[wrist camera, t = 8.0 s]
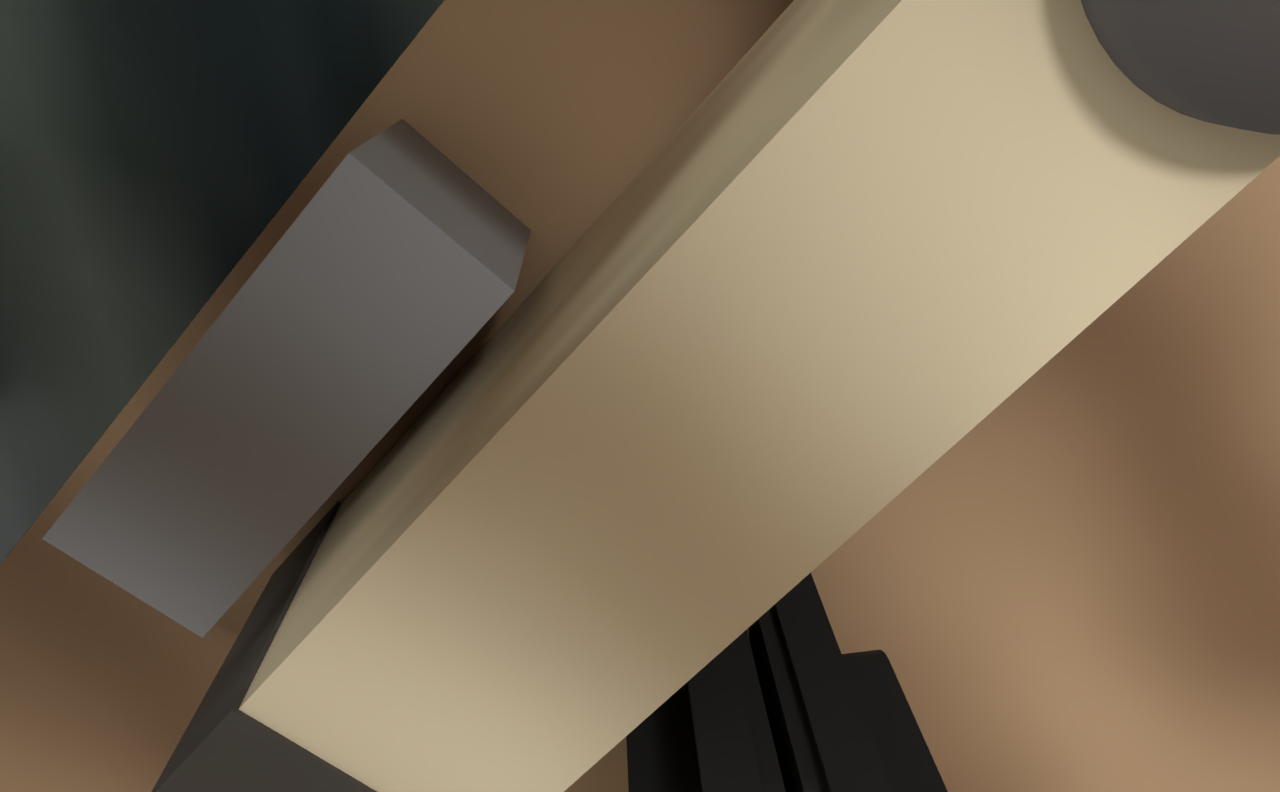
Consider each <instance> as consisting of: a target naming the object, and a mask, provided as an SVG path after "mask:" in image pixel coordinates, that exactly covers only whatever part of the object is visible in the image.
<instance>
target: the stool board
mask: <svg viewBox="0 0 1280 792" xmlns="http://www.w3.org/2000/svg"><path fill="white" fill-rule="evenodd" d="M793 1H794V0H444V1H443V2H442V4H441V5H440V6H439V8H438V9H437V10H436V11H435V13H434V14H433V15H432V16H431V18H430V19H429V20H428V22H427V23H426V24H425V25H424V27H423V28H422V29H421V30H420V32H419V33H418V34H417V36H416V37H415V38H414V39H413V41H412V42H411V43H410V44H409V46H408V47H407V48H406V50H405V51H404V52H403V53H402V55H401V56H400V57H399V58H398V60H397V61H396V62H395V63H394V65H393V66H392V67H391V69H390V70H389V71H388V72H387V74H386V75H385V76H384V77H383V79H382V80H381V81H380V83H379V84H378V85H377V86H376V88H375V89H374V90H373V91H372V93H371V94H370V95H369V97H368V98H367V99H366V100H365V102H364V103H363V104H362V105H361V107H360V108H359V109H358V111H357V112H356V113H355V114H354V116H353V117H352V118H351V119H350V121H349V122H348V123H347V125H346V126H345V127H344V128H343V130H342V131H341V132H340V133H339V135H338V136H337V137H336V139H335V140H334V141H333V142H332V144H331V145H330V146H329V147H328V149H327V150H326V151H325V153H324V154H323V155H322V156H321V158H320V159H319V160H318V161H317V163H316V164H315V165H314V167H313V168H312V169H311V170H310V172H309V173H308V174H307V175H306V177H305V178H304V179H303V181H302V182H301V183H300V184H299V186H298V187H297V188H296V189H295V191H294V192H293V193H292V195H291V196H290V197H289V198H288V200H287V201H286V202H285V203H284V205H283V206H282V207H281V209H280V210H279V211H278V212H277V214H276V215H275V216H274V217H273V219H272V220H271V221H270V223H269V224H268V225H267V226H266V228H265V229H264V230H263V231H262V233H261V234H260V235H259V237H258V238H257V239H256V240H255V242H254V243H253V244H252V245H251V247H250V248H249V249H248V250H247V252H246V253H245V254H244V256H243V257H242V258H241V259H240V261H239V262H238V263H237V264H236V266H235V267H234V268H233V270H232V271H231V272H230V273H229V275H228V276H227V277H226V278H225V280H224V281H223V282H222V284H221V285H220V286H219V287H218V289H217V290H216V291H215V292H214V294H213V295H212V296H211V298H210V299H209V300H208V301H207V303H206V304H205V305H204V306H203V308H202V309H201V310H200V312H199V313H198V314H197V315H196V317H195V318H194V319H193V320H192V322H191V323H190V324H189V326H188V327H187V328H186V329H185V331H184V332H183V333H182V334H181V336H180V337H179V338H178V340H177V341H176V342H175V343H174V345H173V346H172V347H171V348H170V350H169V351H168V352H167V354H166V355H165V356H164V357H163V359H162V360H161V361H160V362H159V364H158V365H157V366H156V368H155V369H154V370H153V371H152V373H151V374H150V375H149V376H148V378H147V379H146V380H145V382H144V383H143V384H142V385H141V387H140V388H139V389H138V390H137V392H136V393H135V394H134V396H133V397H132V398H131V399H130V401H129V402H128V403H127V404H126V406H125V407H124V408H123V410H122V411H121V412H120V413H119V415H118V416H117V417H116V418H115V420H114V421H113V422H112V424H111V425H110V426H109V427H108V429H107V430H106V431H105V432H104V434H103V435H102V436H101V438H100V439H99V440H98V441H97V443H96V444H95V445H94V446H93V448H92V449H91V450H90V451H89V453H88V454H87V455H86V457H85V458H84V459H83V460H82V462H81V463H80V464H79V465H78V467H77V468H76V469H75V471H74V472H73V473H72V474H71V476H70V477H69V478H68V479H67V481H66V482H65V483H64V485H63V486H62V487H61V488H60V490H59V491H58V492H57V493H56V495H55V496H54V497H53V499H52V500H51V501H50V502H49V504H48V505H47V506H46V507H45V509H44V510H43V511H42V513H41V514H40V515H39V516H38V518H37V519H36V520H35V521H34V523H33V524H32V525H31V527H30V528H29V529H28V530H27V532H26V533H25V534H24V535H23V537H22V538H21V539H20V541H19V542H18V543H17V544H16V546H15V547H14V548H13V549H12V551H11V552H10V553H9V555H8V556H7V557H6V558H5V560H4V561H3V562H2V563H1V565H0V792H152V790H153V788H154V786H155V784H156V783H157V781H158V779H159V777H160V775H161V774H162V772H163V770H164V768H165V766H166V765H167V763H168V761H169V759H170V757H171V756H172V754H173V752H174V750H175V748H176V747H177V745H178V743H179V741H180V739H181V738H182V736H183V734H184V732H185V730H186V729H187V727H188V725H189V723H190V721H191V720H192V718H193V716H194V714H195V712H196V711H197V709H198V707H199V705H200V703H201V702H202V700H203V698H204V696H205V694H206V693H207V691H208V689H209V687H210V685H211V684H212V682H213V680H214V678H215V676H216V675H217V673H218V671H219V669H220V667H221V666H222V664H223V662H224V660H225V659H226V657H227V655H228V653H229V651H230V650H231V648H232V646H233V644H234V642H235V641H236V639H237V637H238V635H239V633H240V632H241V630H242V628H243V626H244V624H245V623H246V621H247V619H248V617H249V615H250V614H251V612H252V610H253V608H254V606H255V605H256V603H257V601H258V599H259V597H260V596H261V594H262V592H263V590H264V588H265V587H266V585H267V583H268V581H269V579H270V578H271V576H272V574H273V573H274V572H275V571H276V569H277V568H278V567H279V566H280V565H281V564H282V563H283V562H284V561H285V559H286V558H287V557H288V556H289V555H290V554H291V553H292V552H293V551H294V549H295V548H296V547H297V546H298V545H299V544H300V543H301V542H302V540H303V539H304V538H305V537H306V536H307V535H308V534H309V533H310V532H311V530H312V529H313V528H314V527H315V526H316V525H317V524H318V523H319V521H320V520H321V519H322V518H323V517H324V516H325V515H326V514H327V513H328V511H329V510H330V509H331V508H332V507H333V506H334V505H335V504H336V502H337V501H339V502H340V503H343V502H344V501H345V499H346V498H347V497H348V496H349V495H350V494H351V493H352V492H353V491H354V489H355V488H356V487H357V486H358V485H359V484H360V483H361V482H362V481H363V479H364V478H365V477H366V476H367V475H368V474H369V473H370V472H371V471H372V469H373V468H374V467H375V466H376V465H377V464H378V463H379V462H380V460H381V459H382V458H383V457H384V456H385V455H386V454H387V453H388V452H389V450H390V449H391V448H392V447H393V446H394V445H395V444H396V443H397V442H398V440H399V439H400V438H401V437H402V436H403V435H404V434H405V433H406V432H407V430H408V429H409V428H410V427H411V426H412V425H413V424H414V423H415V422H416V420H417V419H418V418H419V417H420V416H421V415H422V414H423V413H424V412H425V410H426V409H427V408H428V407H429V406H430V405H431V404H432V403H433V401H434V400H435V399H436V398H437V397H438V396H439V395H440V394H441V393H442V391H443V390H444V389H445V388H446V387H447V386H448V385H449V384H450V383H451V381H452V380H453V379H454V378H455V377H456V376H457V375H458V374H459V373H460V371H461V370H462V369H463V368H464V367H465V366H466V365H467V364H468V363H469V361H470V360H471V359H472V358H473V357H474V356H475V355H476V354H477V353H478V351H479V350H480V349H481V348H482V347H483V346H484V345H485V344H486V342H487V341H488V340H489V339H490V338H491V337H492V336H493V335H494V334H495V332H496V331H497V330H498V329H499V328H500V327H501V326H502V325H503V324H504V322H505V321H506V320H507V319H508V318H509V317H510V316H511V315H512V314H513V312H514V311H515V310H516V309H517V308H518V307H519V306H520V305H521V304H522V302H523V301H524V300H525V299H526V298H527V297H528V296H529V295H530V293H531V292H532V291H533V290H534V289H535V288H536V287H537V286H538V285H539V283H540V282H541V281H542V280H543V279H544V278H545V277H546V276H547V275H548V273H549V272H550V271H551V270H552V269H553V268H554V267H555V266H556V265H557V263H558V262H559V261H560V260H561V259H562V258H563V257H564V256H565V255H566V253H567V252H568V251H569V250H570V249H571V248H572V247H573V246H574V245H575V243H576V242H577V241H578V240H579V239H580V238H581V237H582V236H583V234H584V233H585V232H586V231H587V230H588V229H589V228H590V227H591V226H592V224H593V223H594V222H595V221H596V220H597V219H598V218H599V217H600V216H601V214H602V213H603V212H604V211H605V210H606V209H607V208H608V207H609V206H610V204H611V203H612V202H613V201H614V200H615V199H616V198H617V197H618V196H619V194H620V193H621V192H622V191H623V190H624V189H625V188H626V187H627V186H628V184H629V183H630V182H631V181H632V180H633V179H634V178H635V177H636V175H637V174H638V173H639V172H640V171H641V170H642V169H643V168H644V167H645V165H646V164H647V163H648V162H649V161H650V160H651V159H652V158H653V157H654V155H655V154H656V153H657V152H658V151H659V150H660V149H661V148H662V147H663V145H664V144H665V143H666V142H667V141H668V140H669V139H670V138H671V137H672V135H673V134H674V133H675V132H676V131H677V130H678V129H679V128H680V127H681V125H682V124H683V123H684V122H685V121H686V120H687V119H688V118H689V116H690V115H691V114H692V113H693V112H694V111H695V110H696V109H697V108H698V106H699V105H700V104H701V103H702V102H703V101H704V100H705V99H706V98H707V96H708V95H709V94H710V93H711V92H712V91H713V90H714V89H715V88H716V86H717V85H718V84H719V83H720V82H721V81H722V80H723V79H724V78H725V76H726V75H727V74H728V73H729V72H730V71H731V70H732V69H733V68H734V66H735V65H736V64H737V63H738V62H739V61H740V60H741V59H742V57H743V56H744V55H745V54H746V53H747V52H748V51H749V50H750V49H751V47H752V46H753V45H754V44H755V43H756V42H757V41H758V40H759V39H760V37H761V36H762V35H763V34H764V33H765V32H766V31H767V30H768V29H769V27H770V26H771V25H772V24H773V23H774V22H775V21H776V20H777V19H778V17H779V16H780V15H781V14H782V13H783V12H784V11H785V10H786V8H787V7H788V6H789V5H790V4H791V3H792V2H793ZM811 574H812V577H813V580H814V582H815V585H816V588H817V590H818V593H819V596H820V598H821V601H822V604H823V606H824V609H825V611H826V614H827V617H828V619H829V622H830V625H831V627H832V630H833V633H834V635H835V638H836V641H837V643H838V646H839V649H840V651H841V654H847V653H855V652H864V651H872V650H882V651H883V652H885V654H886V655H887V657H888V659H889V661H890V663H891V665H892V668H893V670H894V672H895V674H896V676H897V679H898V681H899V683H900V685H901V688H902V690H903V692H904V694H905V697H906V699H907V701H908V703H909V706H910V708H911V710H912V712H913V715H914V717H915V719H916V721H917V724H918V726H919V728H920V730H921V733H922V735H923V737H924V739H925V742H926V744H927V746H928V748H929V751H930V753H931V755H932V757H933V760H934V762H935V764H936V766H937V769H938V771H939V773H940V775H941V777H942V780H943V782H944V784H945V786H946V789H947V791H948V792H1280V156H1279V157H1278V158H1277V159H1276V160H1275V161H1273V162H1272V163H1271V164H1270V165H1269V166H1268V167H1267V168H1266V169H1264V170H1263V171H1262V172H1261V173H1260V174H1259V175H1258V176H1257V177H1255V178H1254V179H1253V180H1252V181H1251V182H1250V183H1249V184H1248V185H1246V186H1245V187H1244V188H1243V189H1242V190H1241V191H1240V192H1239V193H1237V194H1236V195H1235V196H1234V197H1233V198H1232V199H1231V200H1230V201H1228V202H1227V203H1226V204H1225V205H1224V206H1223V207H1222V208H1221V209H1219V210H1218V211H1217V212H1216V213H1215V214H1214V215H1213V216H1212V217H1210V218H1209V219H1208V220H1207V221H1206V222H1205V223H1204V224H1202V225H1201V226H1200V227H1199V228H1198V229H1197V230H1196V231H1195V232H1193V233H1192V234H1191V235H1190V236H1189V237H1188V238H1187V239H1186V240H1184V241H1183V242H1182V243H1181V244H1180V245H1179V246H1178V247H1177V248H1175V249H1174V250H1173V251H1172V252H1171V253H1170V254H1169V255H1168V256H1166V257H1165V258H1164V259H1163V260H1162V261H1161V262H1160V263H1159V264H1157V265H1156V266H1155V267H1154V268H1153V269H1152V270H1151V271H1150V272H1148V273H1147V274H1146V275H1145V276H1144V277H1143V278H1142V279H1141V280H1139V281H1138V282H1137V283H1136V284H1135V285H1134V286H1133V287H1132V288H1130V289H1129V290H1128V291H1127V292H1126V293H1125V294H1124V295H1123V296H1121V297H1120V298H1119V299H1118V300H1117V301H1116V302H1115V303H1114V304H1112V305H1111V306H1110V307H1109V308H1108V309H1107V310H1106V311H1105V312H1103V313H1102V314H1101V315H1100V316H1099V317H1098V318H1097V319H1096V320H1094V321H1093V322H1092V323H1091V324H1090V325H1089V326H1088V327H1087V328H1085V329H1084V330H1083V331H1082V332H1081V333H1080V334H1079V335H1077V336H1076V337H1075V338H1074V339H1073V340H1072V341H1071V342H1070V343H1068V344H1067V345H1066V346H1065V347H1064V348H1063V349H1062V350H1061V351H1059V352H1058V353H1057V354H1056V355H1055V356H1054V357H1053V358H1052V359H1050V360H1049V361H1048V362H1047V363H1046V364H1045V365H1044V366H1043V367H1041V368H1040V369H1039V370H1038V371H1037V372H1036V373H1035V374H1034V375H1032V376H1031V377H1030V378H1029V379H1028V380H1027V381H1026V382H1025V383H1023V384H1022V385H1021V386H1020V387H1019V388H1018V389H1017V390H1016V391H1014V392H1013V393H1012V394H1011V395H1010V396H1009V397H1008V398H1007V399H1005V400H1004V401H1003V402H1002V403H1001V404H1000V405H999V406H998V407H996V408H995V409H994V410H993V411H992V412H991V413H990V414H989V415H987V416H986V417H985V418H984V419H983V420H982V421H981V422H980V423H978V424H977V425H976V426H975V427H974V428H973V429H972V430H971V431H969V432H968V433H967V434H966V435H965V436H964V437H963V438H962V439H960V440H959V441H958V442H957V443H956V444H955V445H954V446H952V447H951V448H950V449H949V450H948V451H947V452H946V453H945V454H943V455H942V456H941V457H940V458H939V459H938V460H937V461H936V462H934V463H933V464H932V465H931V466H930V467H929V468H928V469H927V470H925V471H924V472H923V473H922V474H921V475H920V476H919V477H918V478H916V479H915V480H914V481H913V482H912V483H911V484H910V485H909V486H907V487H906V488H905V489H904V490H903V491H902V492H901V493H900V494H898V495H897V496H896V497H895V498H894V499H893V500H892V501H891V502H889V503H888V504H887V505H886V506H885V507H884V508H883V509H882V510H880V511H879V512H878V513H877V514H876V515H875V516H874V517H873V518H871V519H870V520H869V521H868V522H867V523H866V524H865V525H864V526H862V527H861V528H860V529H859V530H858V531H857V532H856V533H855V534H853V535H852V536H851V537H850V538H849V539H848V540H847V541H846V542H844V543H843V544H842V545H841V546H840V547H839V548H838V549H837V550H835V551H834V552H833V553H832V554H831V555H830V556H829V557H827V558H826V559H825V560H824V561H823V562H822V563H821V564H820V565H818V566H817V567H816V568H815V569H814V570H813V571H812V572H811ZM747 633H748V637H749V630H748V629H747ZM564 792H629V788H628V764H627V741H626V737H625V738H624V739H623V740H621V741H620V742H619V743H618V744H617V745H616V746H615V747H614V748H612V749H611V750H610V751H609V752H608V753H607V754H606V755H605V756H603V757H602V758H601V759H600V760H599V761H598V762H597V763H596V764H594V765H593V766H592V767H591V768H590V769H589V770H588V771H587V772H585V773H584V774H583V775H582V776H581V777H580V778H579V779H578V780H576V781H575V782H574V783H573V784H572V785H571V786H570V787H568V788H567V789H566V790H565V791H564Z"/></svg>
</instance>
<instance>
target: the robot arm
mask: <svg viewBox="0 0 1280 792" xmlns="http://www.w3.org/2000/svg"><path fill="white" fill-rule="evenodd" d="M748 630H749V637H748V633H747V629H746V630H745V631H744V632H743V633H742V634H741V635H740V636H739V637H737V638H736V639H735V640H734V641H733V642H732V643H731V644H730V645H728V646H727V647H726V648H725V649H724V650H723V651H722V652H721V653H719V654H718V655H717V656H716V657H715V658H714V659H713V660H712V661H710V662H709V663H708V664H707V665H706V666H705V667H704V668H702V669H701V670H700V671H699V672H698V673H697V674H696V675H695V676H693V677H692V678H691V679H690V680H689V681H688V682H687V683H686V684H684V685H683V686H682V687H681V688H680V689H679V690H678V691H677V692H675V693H674V694H673V695H672V696H671V697H670V698H669V699H668V700H666V701H665V702H664V703H663V704H662V705H661V706H660V707H659V708H657V709H656V710H655V711H654V712H653V713H652V714H651V715H650V716H648V717H647V718H646V719H645V720H644V721H643V722H642V723H641V724H639V725H638V726H637V727H636V728H635V729H634V730H633V731H632V732H630V733H629V734H628V735H627V736H626V741H627V764H628V788H629V792H948V791H947V789H946V786H945V784H944V782H943V780H942V777H941V775H940V773H939V771H938V769H937V766H936V764H935V762H934V760H933V757H932V755H931V753H930V751H929V748H928V746H927V744H926V742H925V739H924V737H923V735H922V733H921V730H920V728H919V726H918V724H917V721H916V719H915V717H914V715H913V712H912V710H911V708H910V706H909V703H908V701H907V699H906V697H905V694H904V692H903V690H902V688H901V685H900V683H899V681H898V679H897V676H896V674H895V672H894V670H893V668H892V665H891V663H890V661H889V659H888V657H887V655H886V654H885V652H883V651H882V650H872V651H864V652H855V653H847V654H841V651H840V649H839V646H838V643H837V641H836V638H835V635H834V633H833V630H832V627H831V625H830V622H829V619H828V617H827V614H826V611H825V609H824V606H823V604H822V601H821V598H820V596H819V593H818V590H817V588H816V585H815V582H814V580H813V577H812V574H811V573H809V574H808V575H807V576H806V577H805V578H804V579H803V580H802V581H800V582H799V583H798V584H797V585H796V586H795V587H794V588H793V589H791V590H790V591H789V592H788V593H787V594H786V595H785V596H784V597H782V598H781V599H780V600H779V601H778V602H777V603H776V604H775V605H773V606H772V607H771V608H770V609H769V610H768V611H767V612H766V613H764V614H763V615H762V616H761V617H760V618H759V619H758V620H757V621H755V622H754V623H753V624H752V625H751V626H750V627H749V628H748Z"/></svg>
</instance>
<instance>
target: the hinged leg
mask: <svg viewBox="0 0 1280 792" xmlns="http://www.w3.org/2000/svg"><path fill="white" fill-rule="evenodd" d="M1279 156H1280V0H794V1H793V2H792V3H791V4H790V5H789V6H788V7H787V8H786V10H785V11H784V12H783V13H782V14H781V15H780V16H779V17H778V19H777V20H776V21H775V22H774V23H773V24H772V25H771V26H770V27H769V29H768V30H767V31H766V32H765V33H764V34H763V35H762V36H761V37H760V39H759V40H758V41H757V42H756V43H755V44H754V45H753V46H752V47H751V49H750V50H749V51H748V52H747V53H746V54H745V55H744V56H743V57H742V59H741V60H740V61H739V62H738V63H737V64H736V65H735V66H734V68H733V69H732V70H731V71H730V72H729V73H728V74H727V75H726V76H725V78H724V79H723V80H722V81H721V82H720V83H719V84H718V85H717V86H716V88H715V89H714V90H713V91H712V92H711V93H710V94H709V95H708V96H707V98H706V99H705V100H704V101H703V102H702V103H701V104H700V105H699V106H698V108H697V109H696V110H695V111H694V112H693V113H692V114H691V115H690V116H689V118H688V119H687V120H686V121H685V122H684V123H683V124H682V125H681V127H680V128H679V129H678V130H677V131H676V132H675V133H674V134H673V135H672V137H671V138H670V139H669V140H668V141H667V142H666V143H665V144H664V145H663V147H662V148H661V149H660V150H659V151H658V152H657V153H656V154H655V155H654V157H653V158H652V159H651V160H650V161H649V162H648V163H647V164H646V165H645V167H644V168H643V169H642V170H641V171H640V172H639V173H638V174H637V175H636V177H635V178H634V179H633V180H632V181H631V182H630V183H629V184H628V186H627V187H626V188H625V189H624V190H623V191H622V192H621V193H620V194H619V196H618V197H617V198H616V199H615V200H614V201H613V202H612V203H611V204H610V206H609V207H608V208H607V209H606V210H605V211H604V212H603V213H602V214H601V216H600V217H599V218H598V219H597V220H596V221H595V222H594V223H593V224H592V226H591V227H590V228H589V229H588V230H587V231H586V232H585V233H584V234H583V236H582V237H581V238H580V239H579V240H578V241H577V242H576V243H575V245H574V246H573V247H572V248H571V249H570V250H569V251H568V252H567V253H566V255H565V256H564V257H563V258H562V259H561V260H560V261H559V262H558V263H557V265H556V266H555V267H554V268H553V269H552V270H551V271H550V272H549V273H548V275H547V276H546V277H545V278H544V279H543V280H542V281H541V282H540V283H539V285H538V286H537V287H536V288H535V289H534V290H533V291H532V292H531V293H530V295H529V296H528V297H527V298H526V299H525V300H524V301H523V302H522V304H521V305H520V306H519V307H518V308H517V309H516V310H515V311H514V312H513V314H512V315H511V316H510V317H509V318H508V319H507V320H506V321H505V322H504V324H503V325H502V326H501V327H500V328H499V329H498V330H497V331H496V332H495V334H494V335H493V336H492V337H491V338H490V339H489V340H488V341H487V342H486V344H485V345H484V346H483V347H482V348H481V349H480V350H479V351H478V353H477V354H476V355H475V356H474V357H473V358H472V359H471V360H470V361H469V363H468V364H467V365H466V366H465V367H464V368H463V369H462V370H461V371H460V373H459V374H458V375H457V376H456V377H455V378H454V379H453V380H452V381H451V383H450V384H449V385H448V386H447V387H446V388H445V389H444V390H443V391H442V393H441V394H440V395H439V396H438V397H437V398H436V399H435V400H434V401H433V403H432V404H431V405H430V406H429V407H428V408H427V409H426V410H425V412H424V413H423V414H422V415H421V416H420V417H419V418H418V419H417V420H416V422H415V423H414V424H413V425H412V426H411V427H410V428H409V429H408V430H407V432H406V433H405V434H404V435H403V436H402V437H401V438H400V439H399V440H398V442H397V443H396V444H395V445H394V446H393V447H392V448H391V449H390V450H389V452H388V453H387V454H386V455H385V456H384V457H383V458H382V459H381V460H380V462H379V463H378V464H377V465H376V466H375V467H374V468H373V469H372V471H371V472H370V473H369V474H368V475H367V476H366V477H365V478H364V479H363V481H362V482H361V483H360V484H359V485H358V486H357V487H356V488H355V489H354V491H353V492H352V493H351V494H350V495H349V496H348V497H347V498H346V499H345V501H344V502H343V503H340V502H339V501H337V502H336V504H335V505H334V506H333V507H332V508H331V509H330V510H329V511H328V513H327V514H326V515H325V516H324V517H323V518H322V519H321V520H320V521H319V523H318V524H317V525H316V526H315V527H314V528H313V529H312V530H311V532H310V533H309V534H308V535H307V536H306V537H305V538H304V539H303V540H302V542H301V543H300V544H299V545H298V546H297V547H296V548H295V549H294V551H293V552H292V553H291V554H290V555H289V556H288V557H287V558H286V559H285V561H284V562H283V563H282V564H281V565H280V566H279V567H278V568H277V569H276V571H275V572H274V573H273V574H272V576H271V578H270V579H269V581H268V583H267V585H266V587H265V588H264V590H263V592H262V594H261V596H260V597H259V599H258V601H257V603H256V605H255V606H254V608H253V610H252V612H251V614H250V615H249V617H248V619H247V621H246V623H245V624H244V626H243V628H242V630H241V632H240V633H239V635H238V637H237V639H236V641H235V642H234V644H233V646H232V648H231V650H230V651H229V653H228V655H227V657H226V659H225V660H224V662H223V664H222V666H221V667H220V669H219V671H218V673H217V675H216V676H215V678H214V680H213V682H212V684H211V685H210V687H209V689H208V691H207V693H206V694H205V696H204V698H203V700H202V702H201V703H200V705H199V707H198V709H197V711H196V712H195V714H194V716H193V718H192V720H191V721H190V723H189V725H188V727H187V729H186V730H185V732H184V734H183V736H182V738H181V739H180V741H179V743H178V745H177V747H176V748H175V750H174V752H173V754H172V756H171V757H170V759H169V761H168V763H167V765H166V766H165V768H164V770H163V772H162V774H161V775H160V777H159V779H158V781H157V783H156V784H155V786H154V788H153V790H152V792H564V791H565V790H566V789H567V788H568V787H570V786H571V785H572V784H573V783H574V782H575V781H576V780H578V779H579V778H580V777H581V776H582V775H583V774H584V773H585V772H587V771H588V770H589V769H590V768H591V767H592V766H593V765H594V764H596V763H597V762H598V761H599V760H600V759H601V758H602V757H603V756H605V755H606V754H607V753H608V752H609V751H610V750H611V749H612V748H614V747H615V746H616V745H617V744H618V743H619V742H620V741H621V740H623V739H624V738H625V737H626V736H627V735H628V734H629V733H630V732H632V731H633V730H634V729H635V728H636V727H637V726H638V725H639V724H641V723H642V722H643V721H644V720H645V719H646V718H647V717H648V716H650V715H651V714H652V713H653V712H654V711H655V710H656V709H657V708H659V707H660V706H661V705H662V704H663V703H664V702H665V701H666V700H668V699H669V698H670V697H671V696H672V695H673V694H674V693H675V692H677V691H678V690H679V689H680V688H681V687H682V686H683V685H684V684H686V683H687V682H688V681H689V680H690V679H691V678H692V677H693V676H695V675H696V674H697V673H698V672H699V671H700V670H701V669H702V668H704V667H705V666H706V665H707V664H708V663H709V662H710V661H712V660H713V659H714V658H715V657H716V656H717V655H718V654H719V653H721V652H722V651H723V650H724V649H725V648H726V647H727V646H728V645H730V644H731V643H732V642H733V641H734V640H735V639H736V638H737V637H739V636H740V635H741V634H742V633H743V632H744V631H745V630H746V629H748V628H749V627H750V626H751V625H752V624H753V623H754V622H755V621H757V620H758V619H759V618H760V617H761V616H762V615H763V614H764V613H766V612H767V611H768V610H769V609H770V608H771V607H772V606H773V605H775V604H776V603H777V602H778V601H779V600H780V599H781V598H782V597H784V596H785V595H786V594H787V593H788V592H789V591H790V590H791V589H793V588H794V587H795V586H796V585H797V584H798V583H799V582H800V581H802V580H803V579H804V578H805V577H806V576H807V575H808V574H809V573H811V572H812V571H813V570H814V569H815V568H816V567H817V566H818V565H820V564H821V563H822V562H823V561H824V560H825V559H826V558H827V557H829V556H830V555H831V554H832V553H833V552H834V551H835V550H837V549H838V548H839V547H840V546H841V545H842V544H843V543H844V542H846V541H847V540H848V539H849V538H850V537H851V536H852V535H853V534H855V533H856V532H857V531H858V530H859V529H860V528H861V527H862V526H864V525H865V524H866V523H867V522H868V521H869V520H870V519H871V518H873V517H874V516H875V515H876V514H877V513H878V512H879V511H880V510H882V509H883V508H884V507H885V506H886V505H887V504H888V503H889V502H891V501H892V500H893V499H894V498H895V497H896V496H897V495H898V494H900V493H901V492H902V491H903V490H904V489H905V488H906V487H907V486H909V485H910V484H911V483H912V482H913V481H914V480H915V479H916V478H918V477H919V476H920V475H921V474H922V473H923V472H924V471H925V470H927V469H928V468H929V467H930V466H931V465H932V464H933V463H934V462H936V461H937V460H938V459H939V458H940V457H941V456H942V455H943V454H945V453H946V452H947V451H948V450H949V449H950V448H951V447H952V446H954V445H955V444H956V443H957V442H958V441H959V440H960V439H962V438H963V437H964V436H965V435H966V434H967V433H968V432H969V431H971V430H972V429H973V428H974V427H975V426H976V425H977V424H978V423H980V422H981V421H982V420H983V419H984V418H985V417H986V416H987V415H989V414H990V413H991V412H992V411H993V410H994V409H995V408H996V407H998V406H999V405H1000V404H1001V403H1002V402H1003V401H1004V400H1005V399H1007V398H1008V397H1009V396H1010V395H1011V394H1012V393H1013V392H1014V391H1016V390H1017V389H1018V388H1019V387H1020V386H1021V385H1022V384H1023V383H1025V382H1026V381H1027V380H1028V379H1029V378H1030V377H1031V376H1032V375H1034V374H1035V373H1036V372H1037V371H1038V370H1039V369H1040V368H1041V367H1043V366H1044V365H1045V364H1046V363H1047V362H1048V361H1049V360H1050V359H1052V358H1053V357H1054V356H1055V355H1056V354H1057V353H1058V352H1059V351H1061V350H1062V349H1063V348H1064V347H1065V346H1066V345H1067V344H1068V343H1070V342H1071V341H1072V340H1073V339H1074V338H1075V337H1076V336H1077V335H1079V334H1080V333H1081V332H1082V331H1083V330H1084V329H1085V328H1087V327H1088V326H1089V325H1090V324H1091V323H1092V322H1093V321H1094V320H1096V319H1097V318H1098V317H1099V316H1100V315H1101V314H1102V313H1103V312H1105V311H1106V310H1107V309H1108V308H1109V307H1110V306H1111V305H1112V304H1114V303H1115V302H1116V301H1117V300H1118V299H1119V298H1120V297H1121V296H1123V295H1124V294H1125V293H1126V292H1127V291H1128V290H1129V289H1130V288H1132V287H1133V286H1134V285H1135V284H1136V283H1137V282H1138V281H1139V280H1141V279H1142V278H1143V277H1144V276H1145V275H1146V274H1147V273H1148V272H1150V271H1151V270H1152V269H1153V268H1154V267H1155V266H1156V265H1157V264H1159V263H1160V262H1161V261H1162V260H1163V259H1164V258H1165V257H1166V256H1168V255H1169V254H1170V253H1171V252H1172V251H1173V250H1174V249H1175V248H1177V247H1178V246H1179V245H1180V244H1181V243H1182V242H1183V241H1184V240H1186V239H1187V238H1188V237H1189V236H1190V235H1191V234H1192V233H1193V232H1195V231H1196V230H1197V229H1198V228H1199V227H1200V226H1201V225H1202V224H1204V223H1205V222H1206V221H1207V220H1208V219H1209V218H1210V217H1212V216H1213V215H1214V214H1215V213H1216V212H1217V211H1218V210H1219V209H1221V208H1222V207H1223V206H1224V205H1225V204H1226V203H1227V202H1228V201H1230V200H1231V199H1232V198H1233V197H1234V196H1235V195H1236V194H1237V193H1239V192H1240V191H1241V190H1242V189H1243V188H1244V187H1245V186H1246V185H1248V184H1249V183H1250V182H1251V181H1252V180H1253V179H1254V178H1255V177H1257V176H1258V175H1259V174H1260V173H1261V172H1262V171H1263V170H1264V169H1266V168H1267V167H1268V166H1269V165H1270V164H1271V163H1272V162H1273V161H1275V160H1276V159H1277V158H1278V157H1279Z"/></svg>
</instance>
